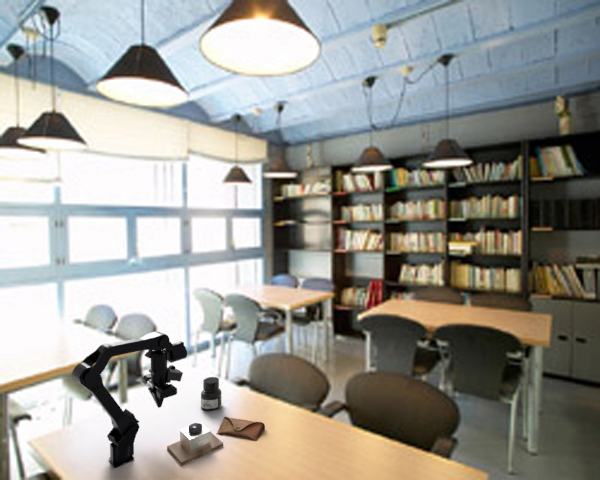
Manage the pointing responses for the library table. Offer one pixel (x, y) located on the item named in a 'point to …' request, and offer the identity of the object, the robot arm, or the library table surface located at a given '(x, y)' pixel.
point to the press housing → (195, 439)
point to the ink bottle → (211, 394)
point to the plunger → (195, 428)
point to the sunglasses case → (241, 428)
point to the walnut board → (185, 457)
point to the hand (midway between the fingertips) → (159, 407)
